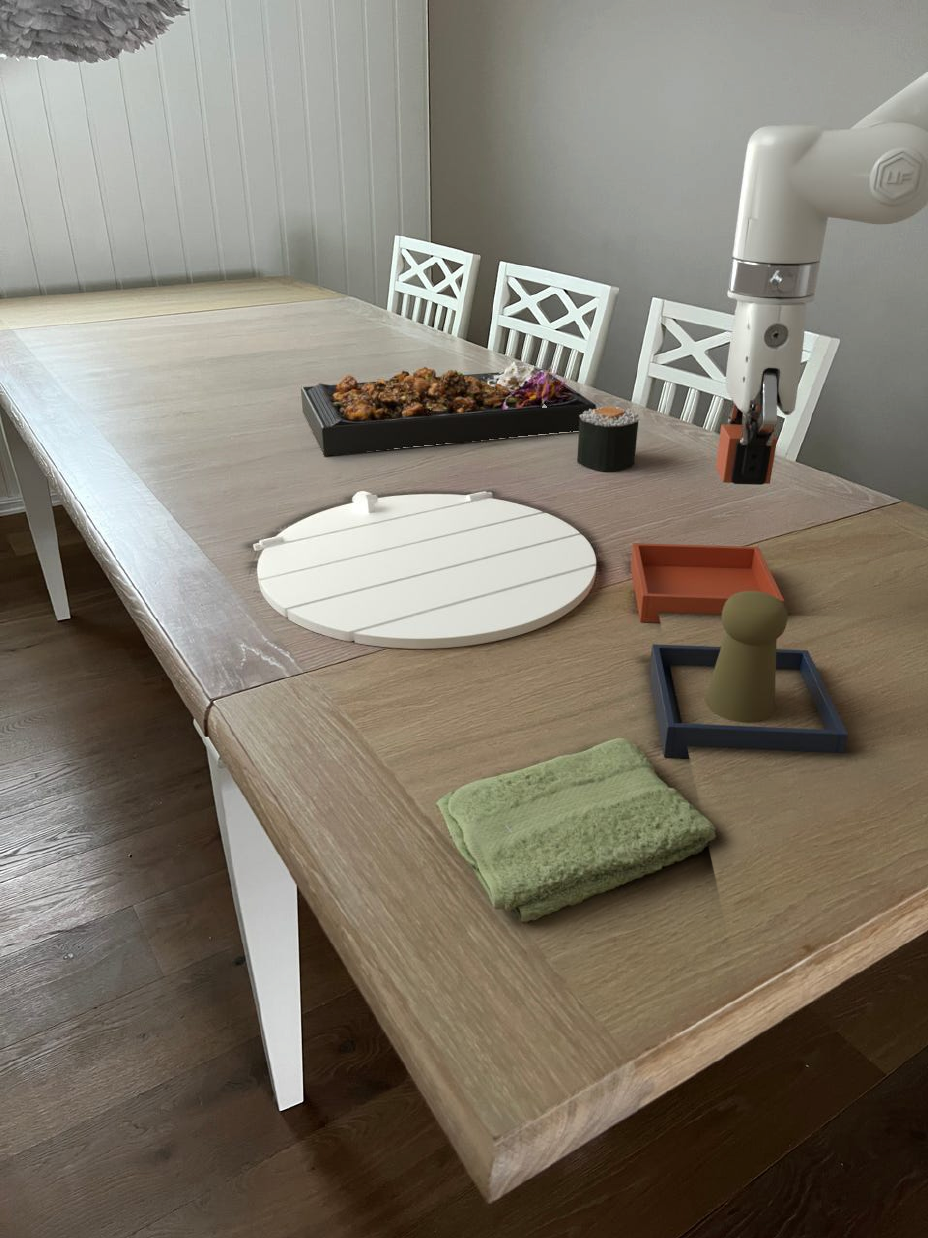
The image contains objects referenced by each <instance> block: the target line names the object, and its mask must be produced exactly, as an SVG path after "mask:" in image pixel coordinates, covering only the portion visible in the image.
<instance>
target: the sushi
mask: <svg viewBox="0 0 928 1238" xmlns="http://www.w3.org/2000/svg"><path fill="white" fill-rule="evenodd" d="M639 415H640V414H639V413H637V412H634V411H633V410H631V408H629V407H628V408H627V409H624V408H622V407H618V406H617V407H614V406H612V405H608V406H601V407H599V406H598V407H596V409H593V410H591V409H589V411H584V412H583V414H581V415H580V423H579V432H578V439H577V441H578V442H577V456H576V457H577V458H576V462H577V463H578V464H579V465H580V464H581V466H582V465H583V467H586V468H588V469H591V470H594V471H599V472H618V471H623V470H626V469H629V468H632V467H634V466H635V464H636V463H635V461H636V450H637V441H638V430H639V420H640V417H639Z"/></svg>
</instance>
